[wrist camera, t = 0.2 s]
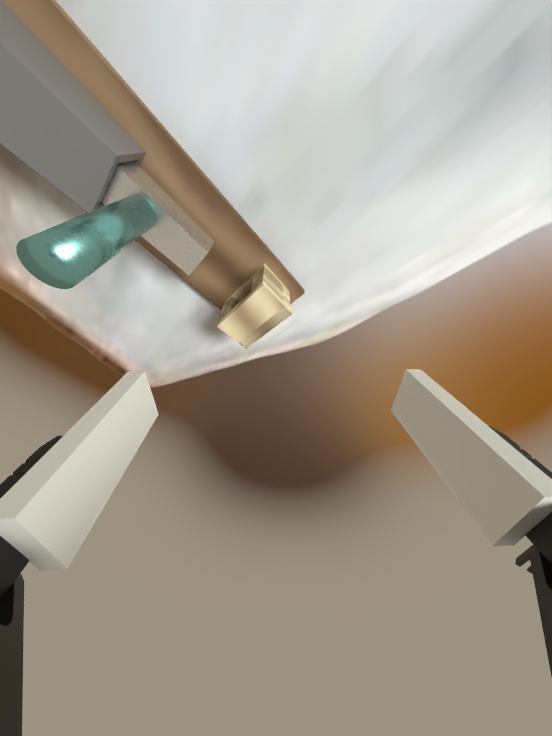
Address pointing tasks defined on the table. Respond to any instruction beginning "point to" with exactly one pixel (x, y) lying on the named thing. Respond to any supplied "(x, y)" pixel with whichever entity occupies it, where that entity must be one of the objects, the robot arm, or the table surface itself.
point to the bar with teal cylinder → (115, 232)
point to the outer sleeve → (56, 119)
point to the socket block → (255, 307)
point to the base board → (160, 161)
